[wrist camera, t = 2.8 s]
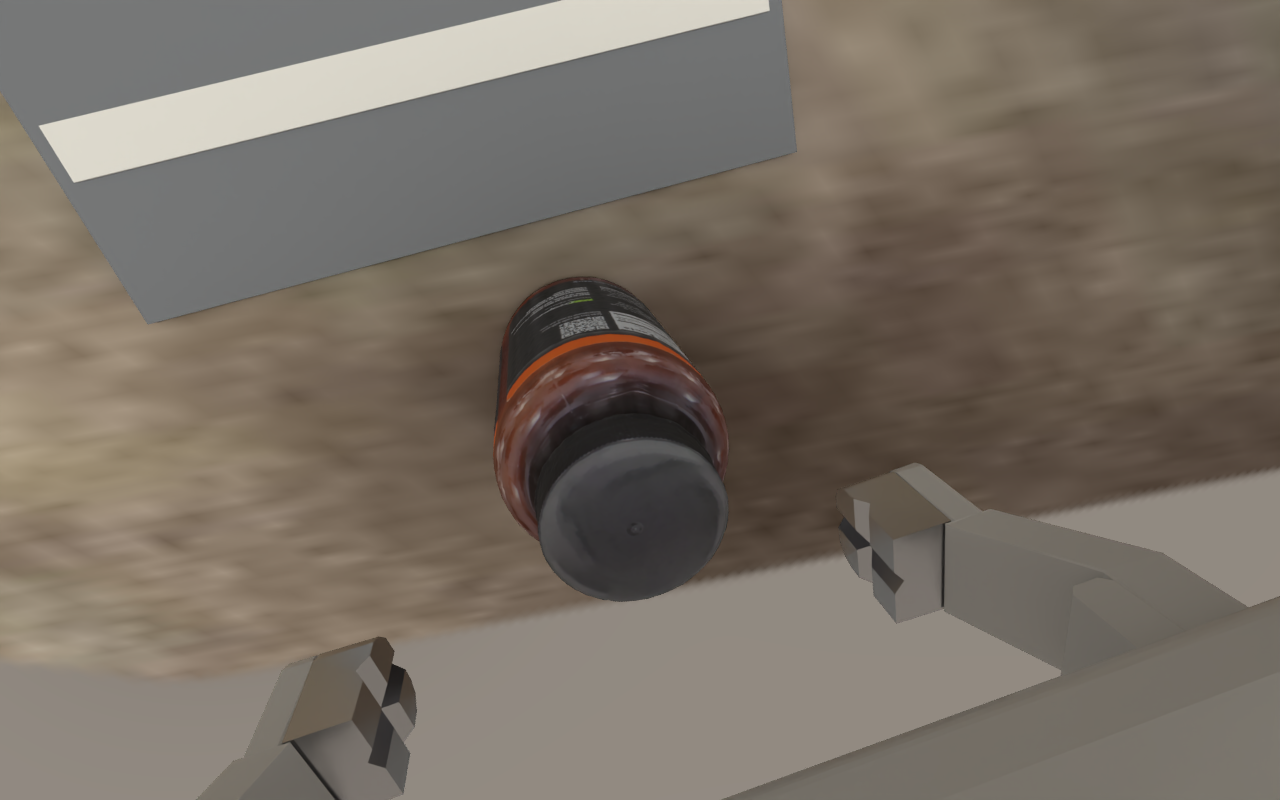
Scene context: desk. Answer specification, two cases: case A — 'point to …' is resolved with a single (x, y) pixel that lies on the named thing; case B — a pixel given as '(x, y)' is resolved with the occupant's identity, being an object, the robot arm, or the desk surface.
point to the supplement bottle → (608, 442)
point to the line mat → (373, 123)
